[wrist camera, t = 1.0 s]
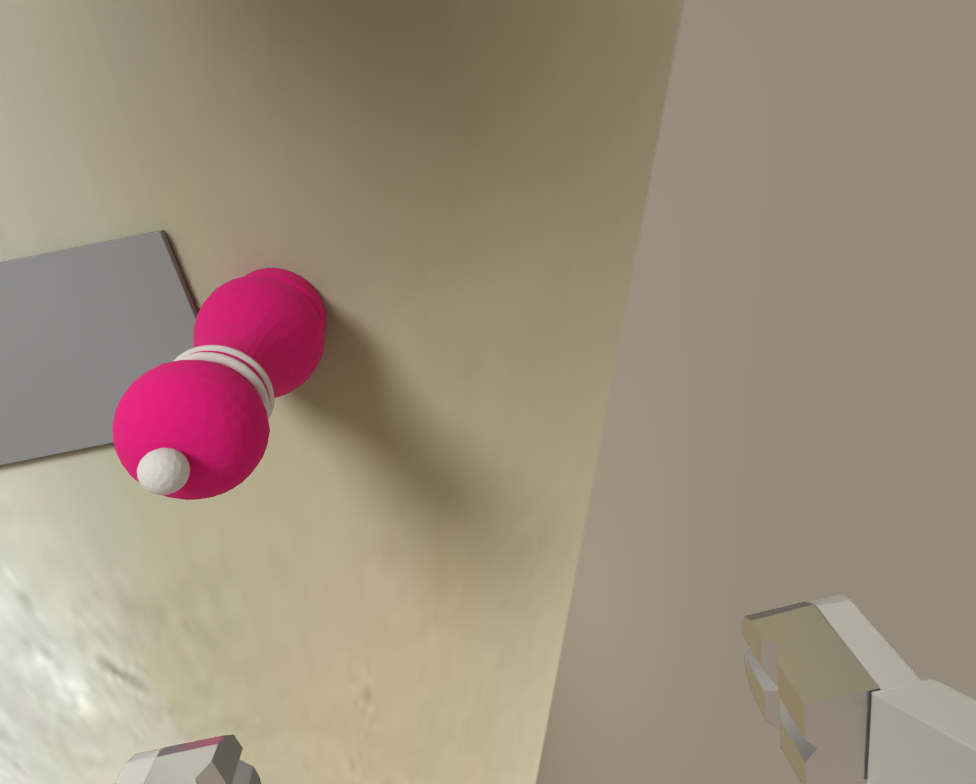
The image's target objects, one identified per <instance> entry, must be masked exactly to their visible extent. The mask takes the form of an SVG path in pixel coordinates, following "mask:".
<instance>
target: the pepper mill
mask: <svg viewBox="0 0 976 784" xmlns="http://www.w3.org/2000/svg"><path fill="white" fill-rule="evenodd" d="M325 324H326V314H325V308H324V305H323V302H322V300H321V298H320V296H319V294H318V293H317V291H316V290H315V289H314V288H313V287H312V285H311V284H310V283H309V282H307V281H306V280H305V279H304V278H302V277H300V276H298V275H297V274H295V273H293V272H290V271H287V270H284V269H277V268H265V269H260V270H256V271H253V272H251V273H249V274H247V275H245V276H244V277H241V278H237V279H234V280H231V281H229V282H227V283H225V284H223V285H222V286H220V287H219V288H217V289H216V290H215V291H214V292H213V293H212V294H211V295H210V296H209V297H208V299H207V300H206V301H205V302H204V304H203V306H202V307H201V309H200V311H199V312H198V314H197V318H196V322H195V326H194V334H193V341H194V348H192V349H189V350H187V351H185V352H184V353H182V354H181V355H179V356H178V357H177V358H176V359H175V360H174V361H173V362H168V363H163V364H161V365H159V366H157V367H155V368H153V369H151V370H149V371H147V372H146V373H144V374H143V375H142V376H140V377H139V378H138V379H136V380H135V381H134V382H133V383H132V384H131V386H130V387H129V388H128V389H127V391H126V392H125V394H124V395H123V397H122V398H121V399H120V401H119V403H118V406H117V408H116V410H115V415H114V420H113V426H112V432H113V442H114V446H115V449H116V452H117V455H118V457H119V459H120V461H121V463H122V465H123V466H124V467H125V469H126V470H127V471H128V473H129V474H130V475H131V476H132V477H133V478H134V479H135V480H137V481H138V482H139V483H140V484H141V486H142V487H143V488H144V489H145V490H147V491H149V492H151V493H153V494H157V495H164V496H167V497H171V498H178V499H185V500H192V499H203V498H209V497H214V496H217V495H220V494H222V493H225V492H227V491H229V490H231V489H233V488H234V487H236V486H237V485H239V484H240V483H242V482H243V481H244V480H245V479H246V478H247V477H248V476H249V475H250V474H251V473H252V472H253V470H254V469H255V468H256V466H257V465H258V464H259V462H260V460H261V459H262V457H263V455H264V452H265V450H266V447H267V443H268V438H269V432H270V429H269V422H268V419H269V418H270V416H271V413H272V410H273V407H274V398H276V397H279V396H282V395H285V394H287V393H289V392H291V391H292V390H294V389H296V388H297V387H299V386H300V385H302V384H303V383H304V382H305V381H306V380H307V379H308V378H309V377H310V375H311V374H312V372H313V371H314V370H315V368H316V367H317V365H318V363H319V361H320V359H321V356H322V353H323V349H324V330H325Z"/></svg>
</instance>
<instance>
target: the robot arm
mask: <svg viewBox="0 0 976 784" xmlns="http://www.w3.org/2000/svg"><path fill="white" fill-rule="evenodd" d="M742 634H743V637H744V638H745V640H746V642H747V643H748V645H749V647H750V648H749V650H748V651H747V652H746V654H745V655H744V660H745V669H746V674H747V678H748V681H749V684H750V688H751V691H752V693H753V696H754V698H755V700H756V703H757V705H758V707H759V709H760V710H761V712H762V714H763V716H764V718H765V720H767V721H768V722H769V723H771V724H773V725H774V726H776V727H777V728H779V729H780V737H781V749H782V751H783V752H784V754H785V756H786V758H787V760H788V761H789V763H790V765H791V767H792V768H793V770H794V772H795V774H796V776H797V778H798V779H799V781H800V783H801V784H857V783H862V782H867V784H976V700H974V699H972V698H970V697H968V696H966V695H964V694H962V693H960V692H958V691H956V690H954V689H952V688H950V687H948V686H946V685H944V684H941V683H940V682H937V681H935V680H933V679H929V680H924V681H921V680H920V679H919V677H918V676H917V675H916V674H915V673H914V672H913V671H912V669H911V668H910V667H909V666H908V665H907V664H906V663H905V662H904V661H903V659H902V658H901V657H900V656H899V655H898V654H897V652H896V651H895V650H894V649H893V648H892V647H891V646H890V644H889V643H888V642H887V641H886V640H885V639H884V638H883V637H882V635H881V634H880V633H879V632H878V631H877V630H876V629H875V628H874V626H873V625H872V624H871V623H870V622H869V621H868V620H867V619H866V617H865V616H864V615H863V614H862V613H861V612H860V610H859V609H858V608H857V607H856V606H855V605H854V604H853V602H852V601H851V600H850V599H849V598H848V597H846V596H844V595H842V594H839V595H834V596H830V597H825V598H821V599H816V600H812V601H808V602H802V603H798V604H793V605H789V606H785V607H781V608H777V609H773V610H768V611H764V612H760V613H756V614H752V615H748V616H744V617H743V620H742ZM242 749H243V748H242V746H241V745H240V743H239V742H238V741H237V739H236V738H235V736H234V735H225V736H220V737H215V738H210V739H205V740H200V741H195V742H190V743H185V744H180V745H174V746H169V747H165V748H161V749H156V750H152V751H147V752H142V753H137V754H135V755H134V756H133V757H132V758H131V759H130V760H129V761H127V762H126V763H125V765H124V767H123V769H122V771H121V773H120V775H119V777H118V779H117V781H116V783H115V784H261V781H260V777H259V775H258V774H257V772H256V770H255V768H254V767H253V766H251V765H249V764H247V763H245V762H243V761H241V760H239V758H240V755H241V752H242Z"/></svg>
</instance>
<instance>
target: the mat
mask: <svg viewBox="0 0 976 784" xmlns="http://www.w3.org/2000/svg"><path fill="white" fill-rule="evenodd" d="M197 314H198V313H197V310H196V308H195V306H194V303H193V301H192V298H191V296H190V293H189V291H188V288H187V286H186V283H185V281H184V279H183V276H182V274H181V271H180V269H179V266H178V264H177V261H176V259H175V256H174V254H173V251H172V249H171V247H170V244H169V242H168V239H167V237H166V234H165V232H164V230H161V231H156V232H151V233H146V234H141V235H136V236H131V237H126V238H121V239H116V240H111V241H106V242H101V243H96V244H91V245H86V246H81V247H76V248H71V249H66V250H61V251H56V252H51V253H46V254H41V255H36V256H31V257H26V258H21V259H16V260H11V261H6V262H1V263H0V465H3V464H8V463H13V462H18V461H23V460H28V459H33V458H38V457H43V456H48V455H53V454H58V453H63V452H68V451H73V450H78V449H83V448H88V447H93V446H98V445H103V444H108V443H113V432H112V426H113V420H114V415H115V410H116V408H117V406H118V403H119V401H120V399H121V398H122V397H123V395H124V394H125V392H126V391H127V389H128V388H129V387H130V386H131V384H132V383H133V382H134V381H135V380H136V379H138V378H139V377H140V376H142V375H143V374H144V373H146V372H147V371H149V370H151V369H153V368H155V367H157V366H159V365H161V364H163V363H168V362H173V361H174V360H175V359H176V358H177V357H178V356H179V355H181V354H182V353H184V352H185V351H187V350H189V349H192V348H194V341H193V334H194V326H195V322H196V318H197Z"/></svg>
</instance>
